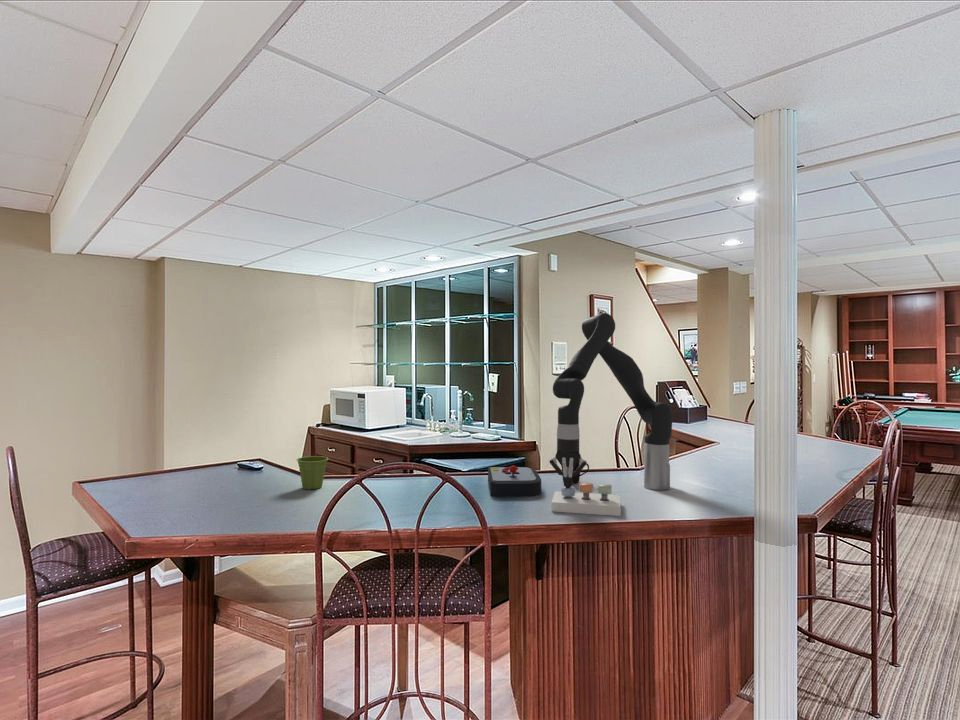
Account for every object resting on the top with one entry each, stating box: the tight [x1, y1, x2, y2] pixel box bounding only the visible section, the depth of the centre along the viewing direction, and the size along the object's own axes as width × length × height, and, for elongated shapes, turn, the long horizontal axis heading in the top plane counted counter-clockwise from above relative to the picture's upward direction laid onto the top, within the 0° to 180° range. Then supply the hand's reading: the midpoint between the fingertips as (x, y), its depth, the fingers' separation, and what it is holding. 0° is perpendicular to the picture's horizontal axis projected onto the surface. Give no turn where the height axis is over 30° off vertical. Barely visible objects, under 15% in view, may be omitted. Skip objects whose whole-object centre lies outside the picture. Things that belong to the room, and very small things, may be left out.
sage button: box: [596, 483, 612, 501], centre depth 176 cm, size 5×5×6 cm
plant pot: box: [296, 455, 329, 490], centre depth 204 cm, size 12×12×11 cm
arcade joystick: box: [487, 465, 542, 498], centre depth 204 cm, size 28×19×10 cm
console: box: [551, 491, 622, 517], centre depth 177 cm, size 22×14×3 cm, turn 77°
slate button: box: [560, 485, 576, 499], centre depth 179 cm, size 5×5×6 cm
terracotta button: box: [578, 482, 594, 500], centre depth 177 cm, size 5×5×6 cm
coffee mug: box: [560, 456, 590, 485], centre depth 212 cm, size 12×9×10 cm
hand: (567, 487), depth 179 cm, fingers closed
